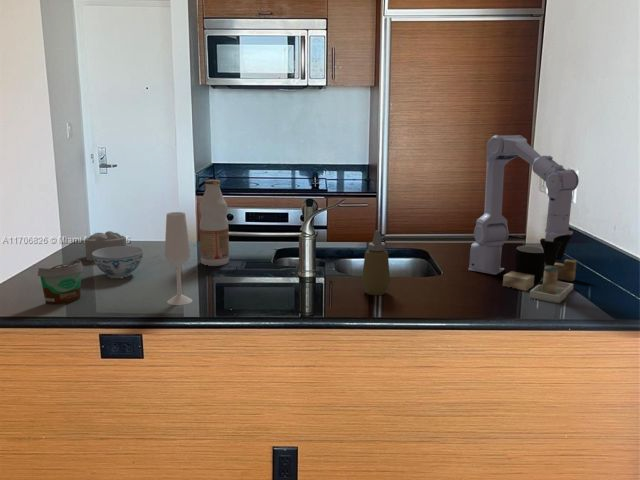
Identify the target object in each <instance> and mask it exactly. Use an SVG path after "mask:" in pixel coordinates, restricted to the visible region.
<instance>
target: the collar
mask: <svg viewBox="0 0 640 480" xmlns="http://www.w3.org/2000/svg"><path fill="white" fill-rule="evenodd" d="M556 288H562V289H568V290H567V295H568V294H569V293H570V292H571V291H573V289H574V283H570V282H565V281H558V280H557V286H556Z"/></svg>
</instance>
